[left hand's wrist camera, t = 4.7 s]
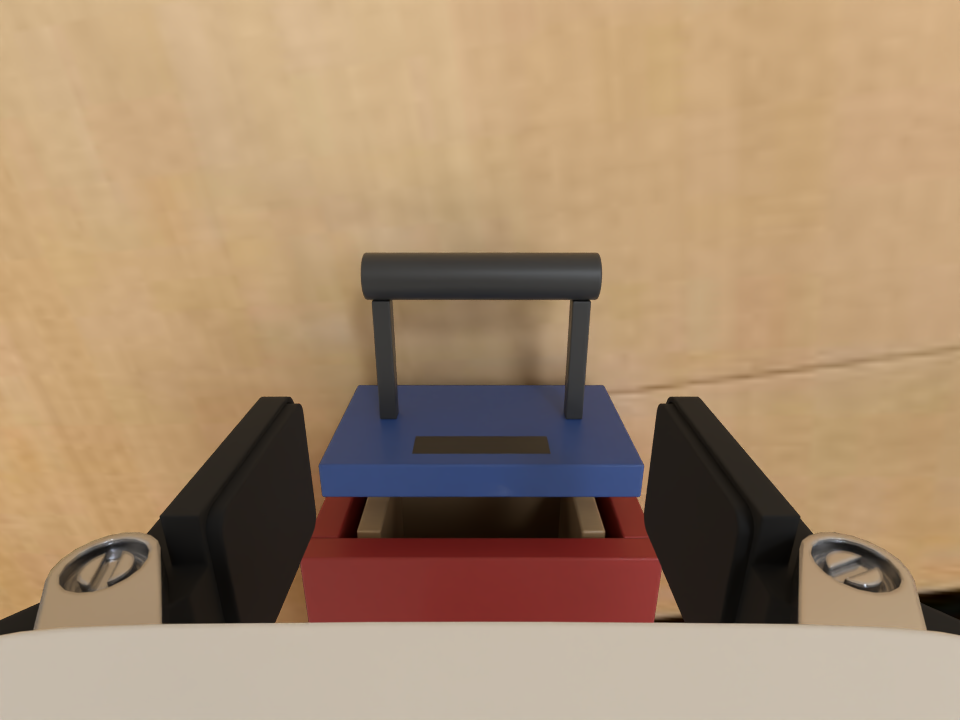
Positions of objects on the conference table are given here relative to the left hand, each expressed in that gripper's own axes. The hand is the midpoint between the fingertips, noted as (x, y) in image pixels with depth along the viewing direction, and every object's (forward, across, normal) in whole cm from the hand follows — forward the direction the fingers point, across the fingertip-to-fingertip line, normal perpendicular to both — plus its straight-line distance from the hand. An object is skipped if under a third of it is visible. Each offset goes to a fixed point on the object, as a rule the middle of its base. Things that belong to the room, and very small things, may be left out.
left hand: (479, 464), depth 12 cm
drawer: (+11, 0, +10) cm, 15 cm away
